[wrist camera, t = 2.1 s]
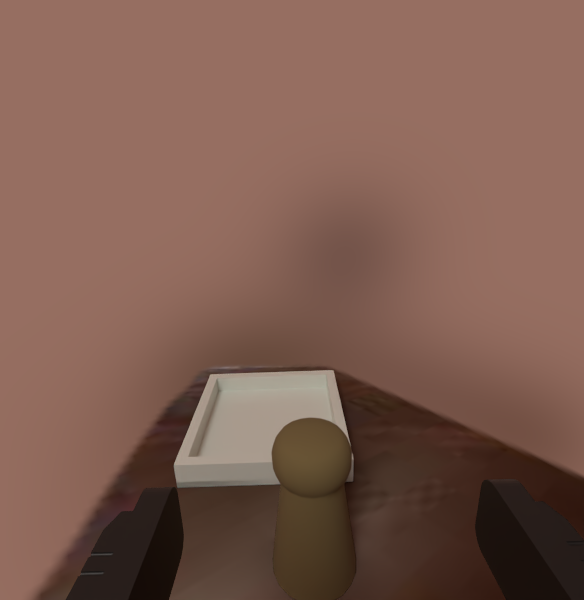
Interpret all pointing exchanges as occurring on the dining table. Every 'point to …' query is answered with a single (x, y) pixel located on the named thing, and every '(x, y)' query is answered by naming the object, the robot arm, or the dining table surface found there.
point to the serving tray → (251, 425)
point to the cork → (313, 510)
